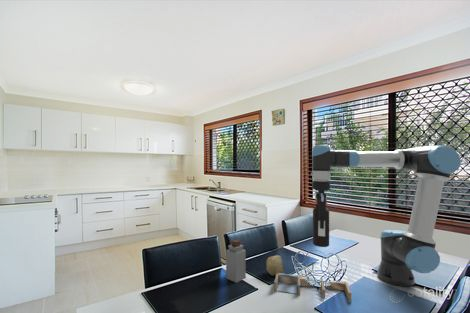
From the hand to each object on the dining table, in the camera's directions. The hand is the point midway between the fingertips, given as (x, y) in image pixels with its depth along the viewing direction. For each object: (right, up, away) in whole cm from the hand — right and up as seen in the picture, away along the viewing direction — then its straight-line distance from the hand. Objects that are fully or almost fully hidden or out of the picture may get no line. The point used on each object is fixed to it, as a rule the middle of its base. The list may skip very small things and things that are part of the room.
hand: (320, 233), depth 107 cm
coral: (-17, -26, +17) cm, 36 cm away
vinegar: (0, -5, 0) cm, 5 cm away
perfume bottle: (-37, -26, +13) cm, 47 cm away
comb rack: (-4, -25, +1) cm, 26 cm away
